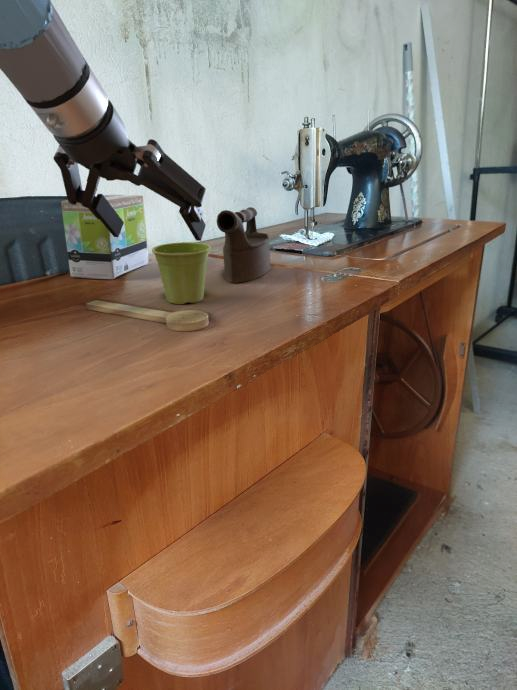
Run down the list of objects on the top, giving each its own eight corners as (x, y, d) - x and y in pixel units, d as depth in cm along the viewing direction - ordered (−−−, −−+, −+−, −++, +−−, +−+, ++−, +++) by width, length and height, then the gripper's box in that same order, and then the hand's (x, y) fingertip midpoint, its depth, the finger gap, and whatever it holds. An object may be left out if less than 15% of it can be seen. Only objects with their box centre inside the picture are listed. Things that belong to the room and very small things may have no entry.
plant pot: (223, 295, 88) (221, 243, 85) (195, 310, 80) (191, 255, 77) (177, 290, 91) (173, 240, 88) (145, 304, 84) (139, 251, 80)
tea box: (115, 280, 99) (105, 200, 94) (69, 278, 102) (57, 200, 96) (150, 263, 113) (143, 193, 107) (109, 262, 115) (100, 193, 110)
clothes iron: (206, 286, 93) (202, 210, 89) (235, 266, 108) (232, 200, 103) (248, 288, 91) (246, 210, 86) (272, 268, 106) (270, 200, 101)
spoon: (77, 312, 80) (76, 305, 80) (105, 302, 85) (104, 295, 85) (192, 333, 70) (191, 325, 70) (216, 321, 75) (216, 313, 74)
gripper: (-22, 143, 60) (79, 248, 78) (170, 139, 52) (231, 256, 71) (4, 96, 63) (95, 208, 81) (190, 85, 55) (244, 212, 73)
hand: (159, 231), depth 76 cm, fingers open, 13 cm apart
